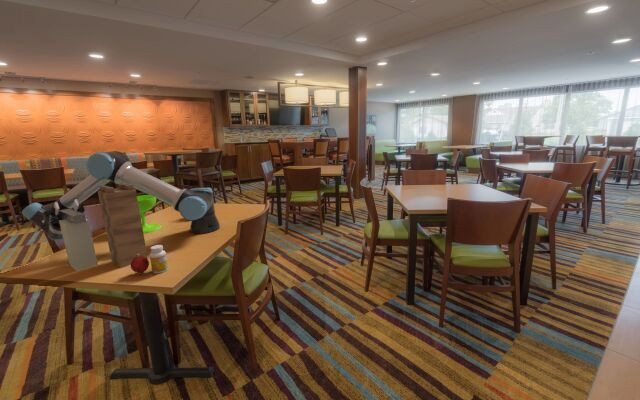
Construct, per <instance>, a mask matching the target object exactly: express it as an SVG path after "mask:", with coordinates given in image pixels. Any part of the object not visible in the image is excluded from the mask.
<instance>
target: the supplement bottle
mask: <svg viewBox="0 0 640 400" xmlns="http://www.w3.org/2000/svg"><path fill="white" fill-rule="evenodd" d="M163 249H164V247H163V245H162V244H156V245H153V246H151V247H150V254H149V260H150V266H151V272H152V274H163V273H164V272H166V271H168V269H169V265H168V258H167V253H166V251H165V250H163Z"/></svg>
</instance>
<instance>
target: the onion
mask: <svg viewBox="0 0 640 400" xmlns="http://www.w3.org/2000/svg"><path fill="white" fill-rule="evenodd" d="M149 266H150V261H149V259H147V258H146V257H144V256H141V255H140V254H137V255H136V257H135V258H134V259H133V260H132V262H131V265H130V269H131V270H132V271H133V272H135V273H137V274H139V275H143V274H145V272H146V271H147V270H148V268H149Z"/></svg>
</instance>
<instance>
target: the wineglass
mask: <svg viewBox="0 0 640 400" xmlns="http://www.w3.org/2000/svg"><path fill="white" fill-rule="evenodd" d="M137 199H138V205H139V211H140V217H141V222H142V228H143V234H148V233H154V232H156V231H158V230H160V229H161V228H162V226H161V224H158V223H147V221H146V215H145V214H146V212H148V211H151V209H153V208H154V206H155V205H156V203H157V198H155V197H153V196H151V195H148V194H145V195H137Z"/></svg>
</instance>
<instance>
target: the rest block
mask: <svg viewBox="0 0 640 400" xmlns="http://www.w3.org/2000/svg"><path fill="white" fill-rule="evenodd" d="M59 223H60V227H61V231H62V235H63V242H64V243H63V244H64V247H65V253H66V255H67V260H68V264H69V265H68V266H69V267H71V268H72V269H73V270H75V272H79V271H81V270H85V269H89V268H92V267H95V266H98V265H99V264H98V259H97V255H96V250H95V246H94V240H93V235H92V231H91V228H90V227H91V226H90V221H89V219H87V218H86V222H82V223H77V224H74V223H71V222H69V221H67V220H65V219H64V220H59Z"/></svg>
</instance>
